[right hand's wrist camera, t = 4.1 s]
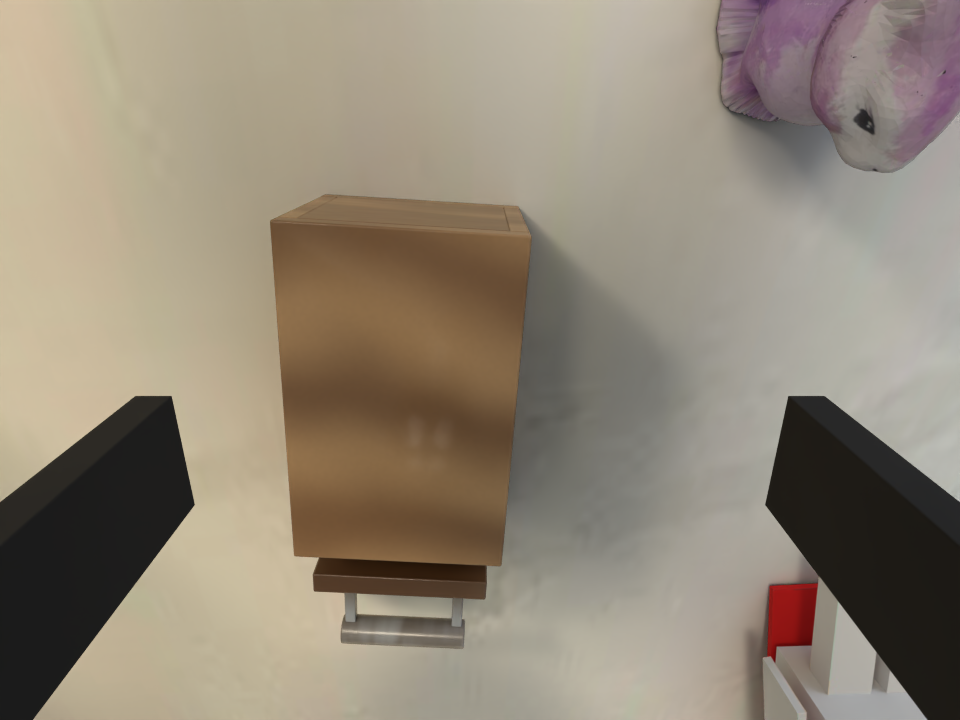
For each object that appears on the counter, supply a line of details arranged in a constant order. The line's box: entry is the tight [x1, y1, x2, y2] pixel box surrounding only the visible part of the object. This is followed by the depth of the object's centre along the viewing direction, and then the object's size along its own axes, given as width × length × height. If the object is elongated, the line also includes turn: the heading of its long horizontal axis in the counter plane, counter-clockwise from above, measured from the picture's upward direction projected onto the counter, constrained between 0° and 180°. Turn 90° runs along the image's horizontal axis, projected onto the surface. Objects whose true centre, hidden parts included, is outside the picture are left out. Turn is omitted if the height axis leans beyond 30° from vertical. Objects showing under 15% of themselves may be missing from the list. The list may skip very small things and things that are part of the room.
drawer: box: [313, 557, 487, 649], centre depth 33 cm, size 21×9×7 cm, turn 177°
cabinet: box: [270, 194, 532, 566], centre depth 31 cm, size 17×10×9 cm, turn 177°
